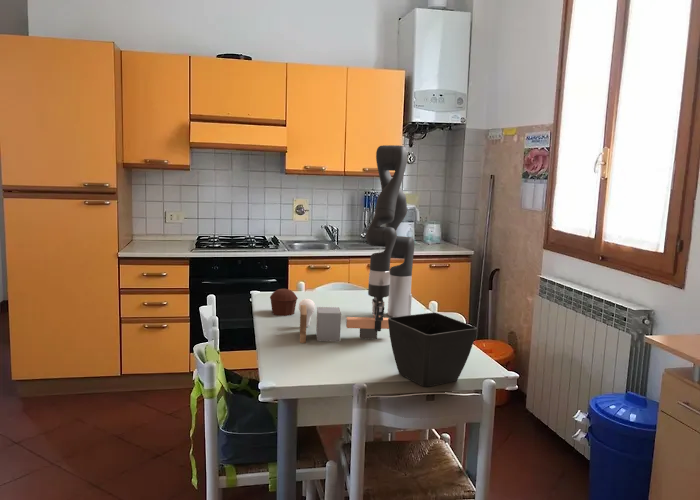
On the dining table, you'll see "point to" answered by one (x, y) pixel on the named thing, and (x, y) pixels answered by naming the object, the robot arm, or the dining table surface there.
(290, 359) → the dining table surface
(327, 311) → the block
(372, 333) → the block
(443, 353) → the flower pot
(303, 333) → the wooden board
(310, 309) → the lightbulb
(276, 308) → the muffin
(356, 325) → the dowel
